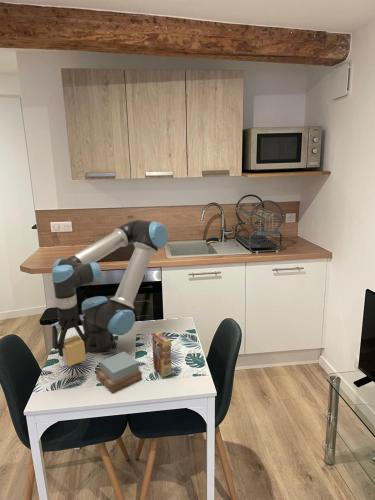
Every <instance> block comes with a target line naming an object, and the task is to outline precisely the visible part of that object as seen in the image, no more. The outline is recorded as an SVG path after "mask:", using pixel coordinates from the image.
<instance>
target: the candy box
mask: <svg viewBox="0 0 375 500" xmlns="http://www.w3.org/2000/svg"><path fill="white" fill-rule="evenodd" d="M151 335H152V338H151V339H152V342H151V343H152V364H153V369H154V370H155V371H156V372H157V373H158V374H159V375H160V376H161V377H162V378H166V377H168V376H171V375H172V346H171V345H172V341H171V339H170V338H169V337H167V336H166V335H165V334H164V333H162V332H161V331H159V332H155V333H152V334H151Z"/></svg>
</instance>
